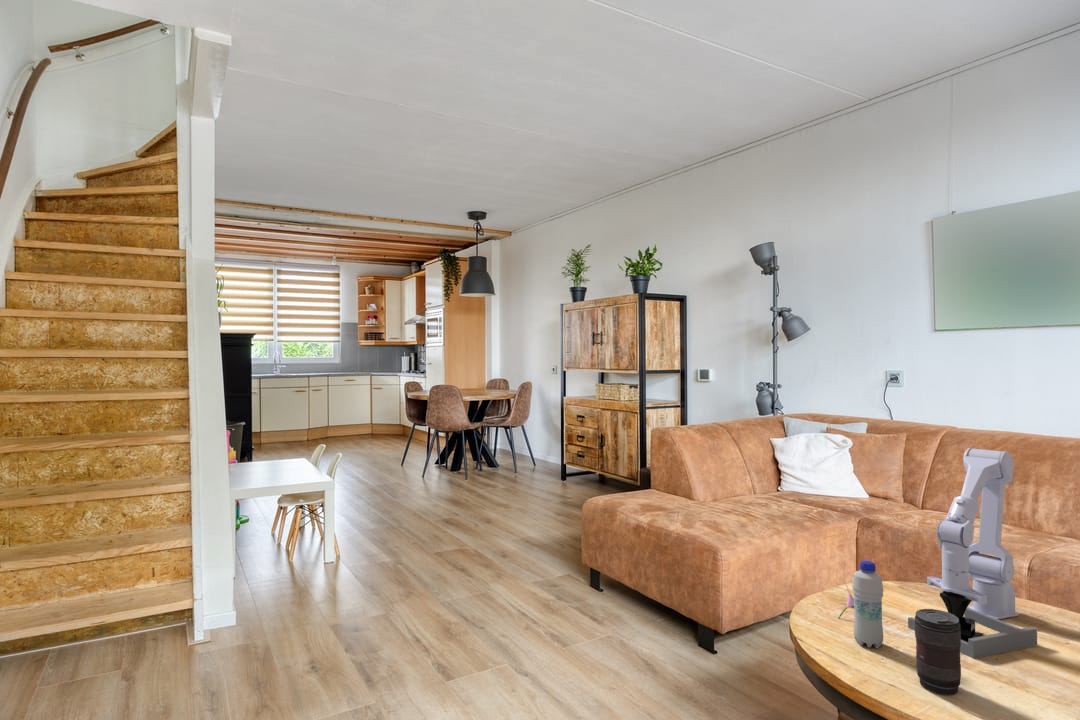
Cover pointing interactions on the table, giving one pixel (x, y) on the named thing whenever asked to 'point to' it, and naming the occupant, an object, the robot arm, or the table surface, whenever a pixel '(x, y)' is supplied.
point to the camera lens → (938, 651)
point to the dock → (993, 636)
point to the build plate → (968, 629)
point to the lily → (850, 601)
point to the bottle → (868, 605)
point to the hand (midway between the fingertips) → (956, 622)
